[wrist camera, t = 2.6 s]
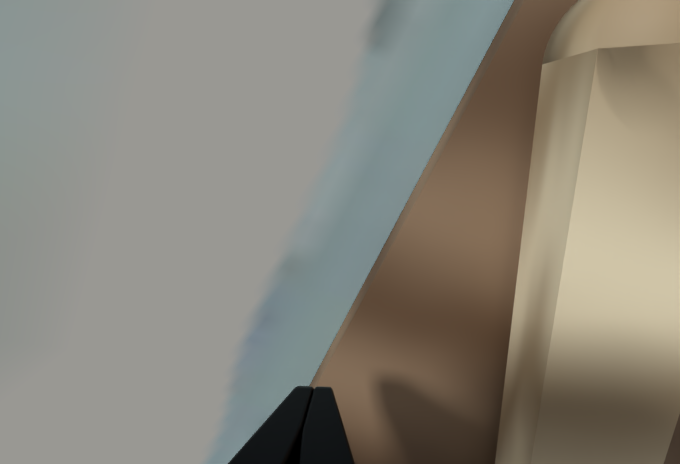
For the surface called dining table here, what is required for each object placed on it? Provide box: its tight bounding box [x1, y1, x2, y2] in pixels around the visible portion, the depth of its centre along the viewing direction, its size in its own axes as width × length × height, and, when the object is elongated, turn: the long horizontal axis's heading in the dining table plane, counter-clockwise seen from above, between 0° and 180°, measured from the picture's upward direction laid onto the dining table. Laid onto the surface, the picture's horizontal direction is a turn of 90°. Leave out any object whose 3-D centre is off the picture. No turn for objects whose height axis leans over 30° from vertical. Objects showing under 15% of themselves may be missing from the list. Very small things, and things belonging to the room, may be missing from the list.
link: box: [495, 0, 680, 464], centre depth 8 cm, size 20×4×4 cm, turn 3°
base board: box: [310, 0, 680, 464], centre depth 12 cm, size 22×19×1 cm
